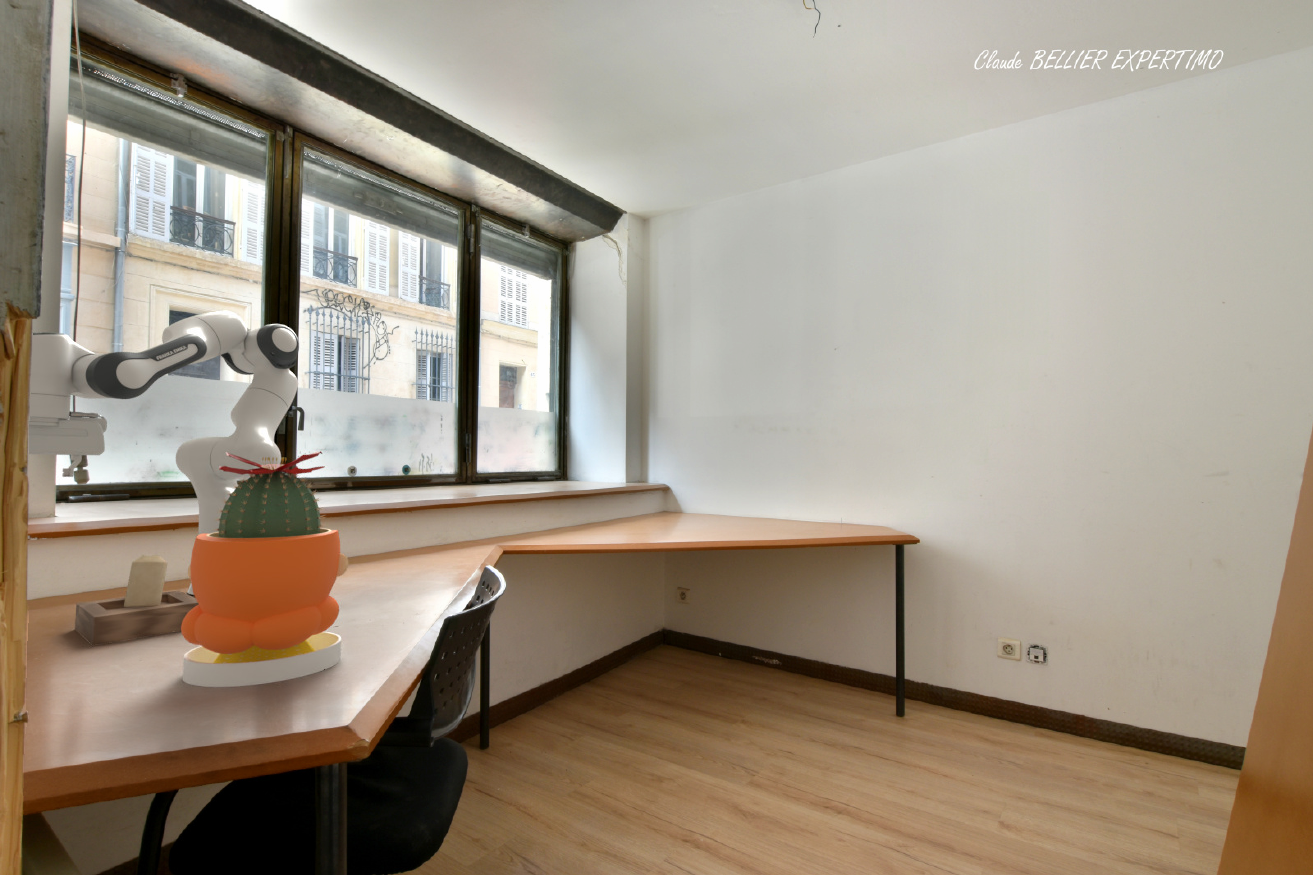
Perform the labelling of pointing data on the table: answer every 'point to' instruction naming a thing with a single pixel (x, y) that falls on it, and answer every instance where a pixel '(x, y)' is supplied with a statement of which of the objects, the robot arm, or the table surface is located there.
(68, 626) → the table surface
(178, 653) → the table surface
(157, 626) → the walnut block
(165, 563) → the candle
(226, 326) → the robot arm
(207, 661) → the potted cactus
